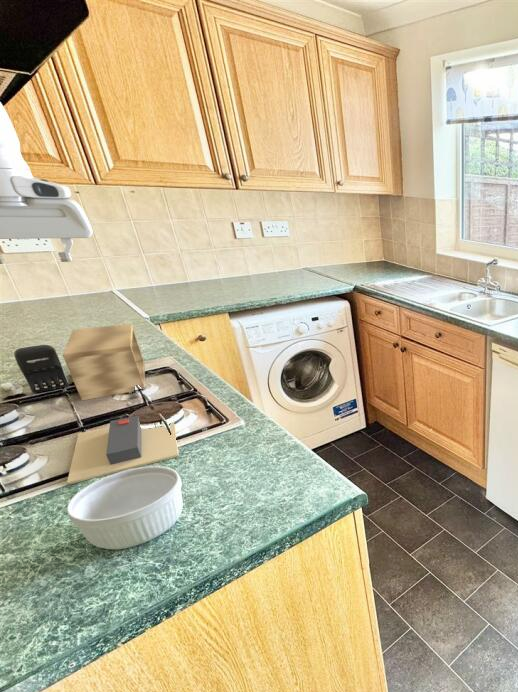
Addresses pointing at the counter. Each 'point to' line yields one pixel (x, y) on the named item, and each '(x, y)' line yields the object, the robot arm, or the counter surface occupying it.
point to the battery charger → (41, 367)
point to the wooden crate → (105, 361)
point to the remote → (124, 440)
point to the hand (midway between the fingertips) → (33, 262)
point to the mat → (95, 462)
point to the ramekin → (128, 507)
